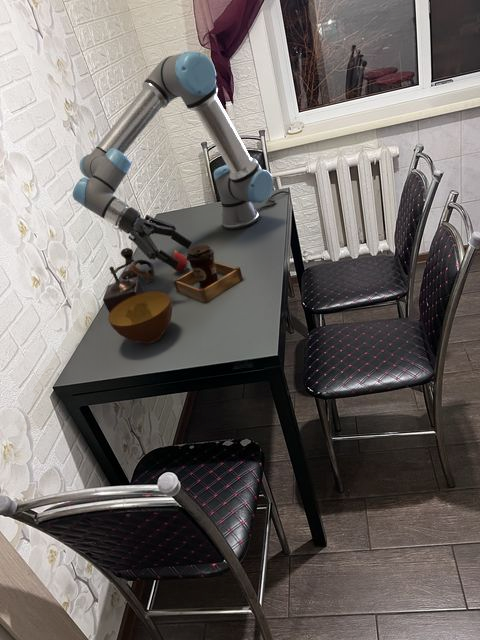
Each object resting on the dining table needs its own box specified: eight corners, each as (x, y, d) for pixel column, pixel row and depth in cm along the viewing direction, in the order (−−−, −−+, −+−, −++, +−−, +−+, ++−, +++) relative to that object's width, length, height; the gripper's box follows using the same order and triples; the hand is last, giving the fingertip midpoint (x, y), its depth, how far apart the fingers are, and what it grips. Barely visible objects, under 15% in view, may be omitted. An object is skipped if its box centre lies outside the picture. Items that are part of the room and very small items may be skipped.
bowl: (170, 353, 126) (157, 322, 120) (112, 358, 130) (97, 328, 125) (189, 317, 139) (178, 288, 134) (136, 322, 144) (123, 294, 138)
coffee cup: (206, 295, 149) (194, 257, 141) (192, 288, 154) (179, 252, 147) (227, 282, 152) (216, 245, 145) (212, 276, 158) (201, 241, 151)
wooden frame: (213, 270, 162) (210, 258, 160) (243, 279, 152) (239, 267, 149) (176, 291, 155) (172, 280, 153) (205, 303, 144) (201, 291, 142)
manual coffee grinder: (148, 316, 145) (126, 264, 135) (114, 325, 146) (89, 274, 135) (152, 293, 158) (132, 244, 148) (120, 301, 158) (98, 253, 148)
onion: (187, 274, 164) (179, 254, 160) (172, 276, 166) (164, 256, 161) (192, 267, 169) (185, 246, 164) (177, 268, 170) (170, 248, 166)
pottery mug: (141, 273, 175) (145, 255, 170) (157, 288, 172) (161, 269, 166) (114, 281, 167) (116, 262, 161) (130, 297, 163) (133, 277, 158)
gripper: (134, 211, 155) (190, 246, 160) (101, 243, 136) (166, 283, 140) (143, 192, 151) (200, 230, 155) (110, 223, 131) (176, 265, 136)
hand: (184, 255), depth 148 cm, fingers open, 13 cm apart
